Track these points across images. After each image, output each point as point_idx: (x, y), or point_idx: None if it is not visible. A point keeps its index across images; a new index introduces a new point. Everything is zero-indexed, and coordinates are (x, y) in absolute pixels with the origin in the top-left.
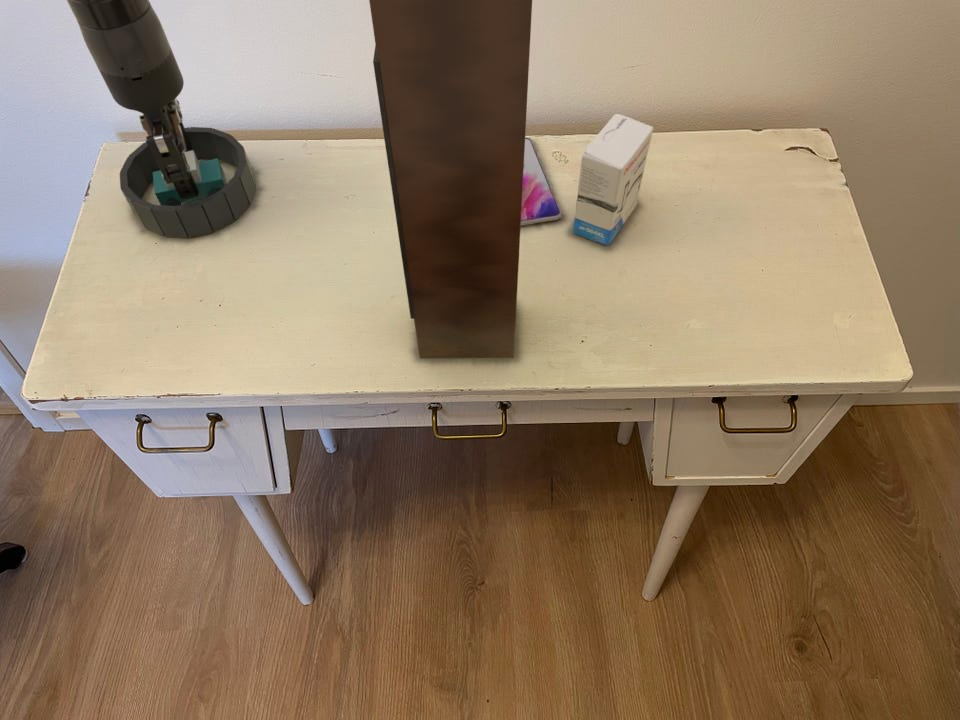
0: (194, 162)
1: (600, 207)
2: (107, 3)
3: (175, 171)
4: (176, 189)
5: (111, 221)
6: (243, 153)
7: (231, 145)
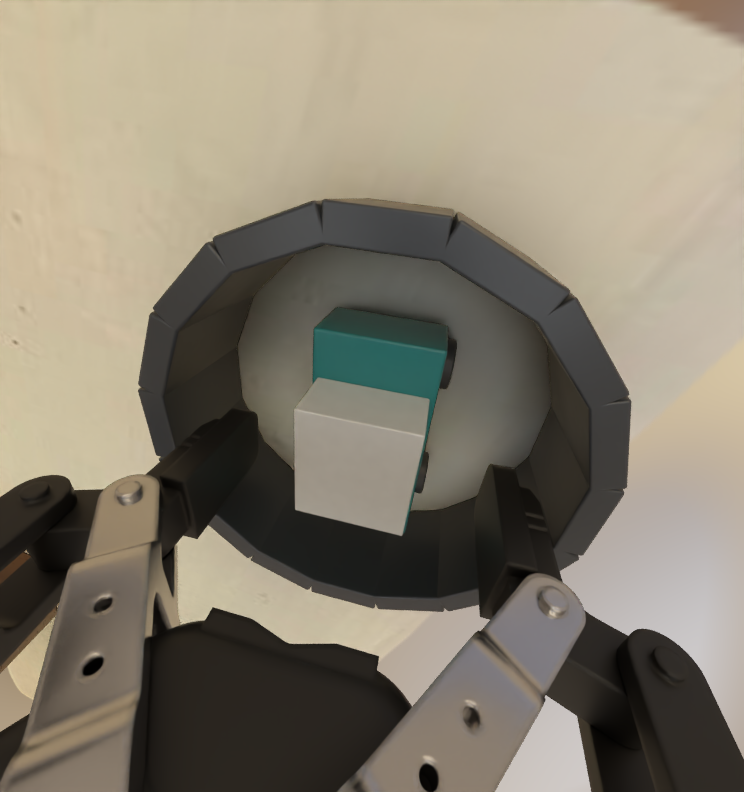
0: (333, 517)
1: None
2: None
3: (32, 553)
4: (210, 430)
5: (378, 79)
6: (344, 599)
7: (407, 589)
